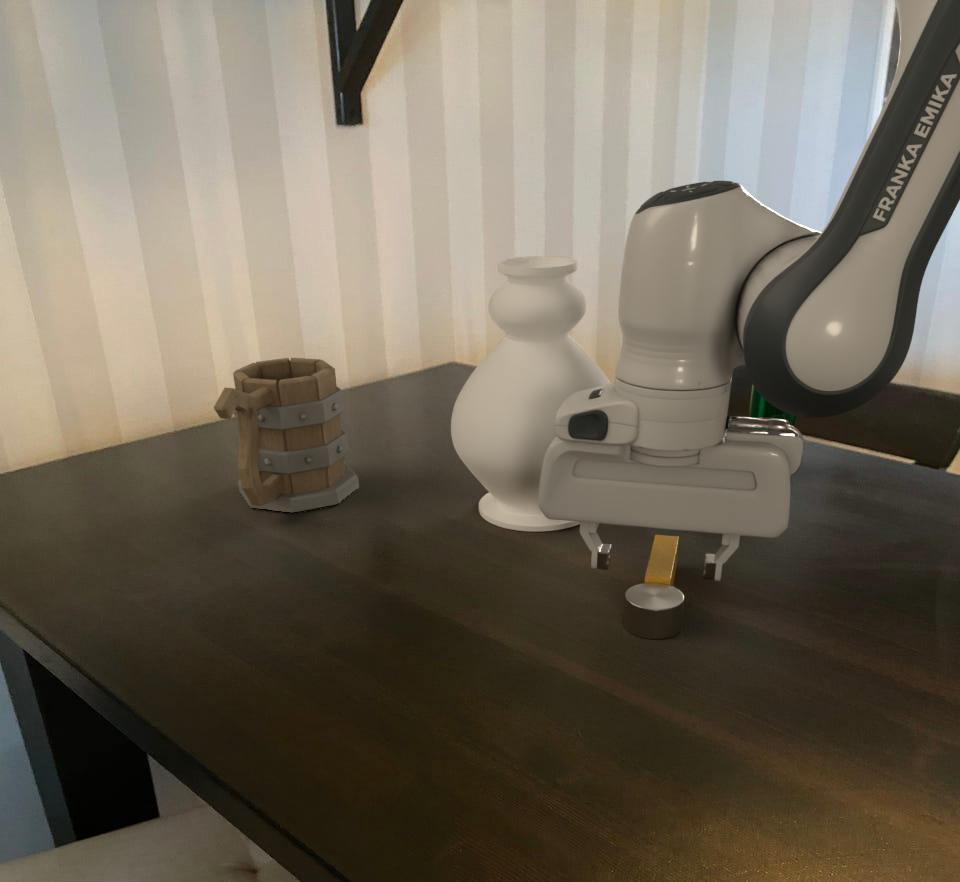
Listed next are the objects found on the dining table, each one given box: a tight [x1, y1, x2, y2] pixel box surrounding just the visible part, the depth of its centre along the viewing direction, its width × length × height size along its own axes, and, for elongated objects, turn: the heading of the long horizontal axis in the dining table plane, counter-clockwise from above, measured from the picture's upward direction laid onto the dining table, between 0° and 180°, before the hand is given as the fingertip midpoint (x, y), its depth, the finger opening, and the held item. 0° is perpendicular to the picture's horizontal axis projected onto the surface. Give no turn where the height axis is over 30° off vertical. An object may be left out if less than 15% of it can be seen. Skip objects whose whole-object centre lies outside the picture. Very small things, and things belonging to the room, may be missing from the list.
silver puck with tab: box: [623, 534, 685, 640], centre depth 81 cm, size 14×5×3 cm, turn 165°
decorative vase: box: [450, 255, 611, 533], centre depth 94 cm, size 18×18×25 cm
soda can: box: [748, 384, 797, 434], centre depth 105 cm, size 5×5×12 cm
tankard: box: [213, 357, 360, 513], centre depth 100 cm, size 20×13×15 cm, turn 161°
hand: (655, 572), depth 80 cm, fingers open, 8 cm apart
